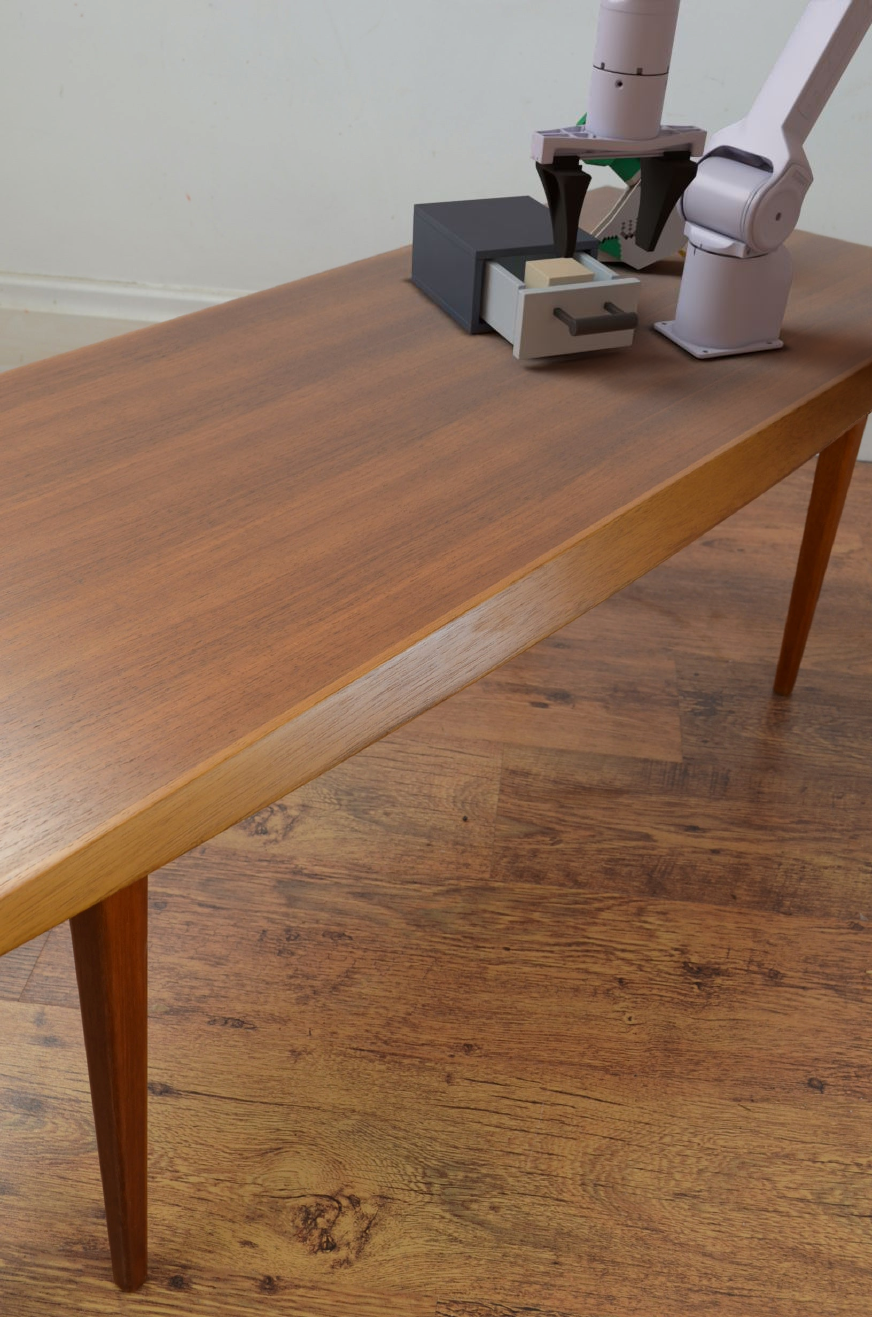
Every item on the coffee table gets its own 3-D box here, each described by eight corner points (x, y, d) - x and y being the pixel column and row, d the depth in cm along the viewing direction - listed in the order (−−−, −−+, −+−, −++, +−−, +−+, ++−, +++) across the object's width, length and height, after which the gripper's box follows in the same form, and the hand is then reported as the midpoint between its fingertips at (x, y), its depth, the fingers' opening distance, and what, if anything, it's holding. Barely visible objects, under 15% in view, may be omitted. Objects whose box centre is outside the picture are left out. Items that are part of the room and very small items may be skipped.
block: (564, 311, 106) (570, 256, 103) (587, 328, 103) (595, 273, 100) (520, 315, 105) (525, 261, 102) (543, 334, 102) (549, 277, 99)
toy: (770, 214, 117) (632, 67, 111) (647, 335, 124) (513, 203, 119) (761, 202, 122) (630, 61, 116) (644, 318, 130) (515, 191, 124)
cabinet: (589, 319, 110) (599, 239, 106) (470, 334, 106) (475, 251, 102) (521, 269, 121) (528, 194, 116) (411, 281, 117) (413, 203, 112)
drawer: (658, 364, 100) (669, 299, 97) (542, 380, 96) (549, 313, 93) (561, 293, 113) (568, 233, 110) (455, 305, 109) (459, 243, 106)
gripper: (684, 56, 92) (655, 230, 100) (521, 58, 87) (504, 241, 95) (734, 74, 86) (699, 256, 95) (563, 77, 82) (542, 269, 90)
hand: (604, 251), depth 94 cm, fingers open, 7 cm apart
